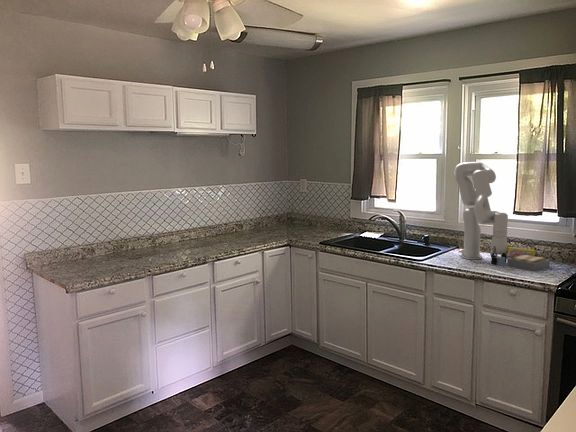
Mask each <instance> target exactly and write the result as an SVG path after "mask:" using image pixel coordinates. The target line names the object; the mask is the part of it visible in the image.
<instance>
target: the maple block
mask: <svg viewBox="0 0 576 432" xmlns="http://www.w3.org/2000/svg"><path fill="white" fill-rule="evenodd" d="M545 259H546V258H545V257H540V256H530V255H521V256H517V257H513V260H518V261H524V262H529V263H538V262H541V261H545Z"/></svg>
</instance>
